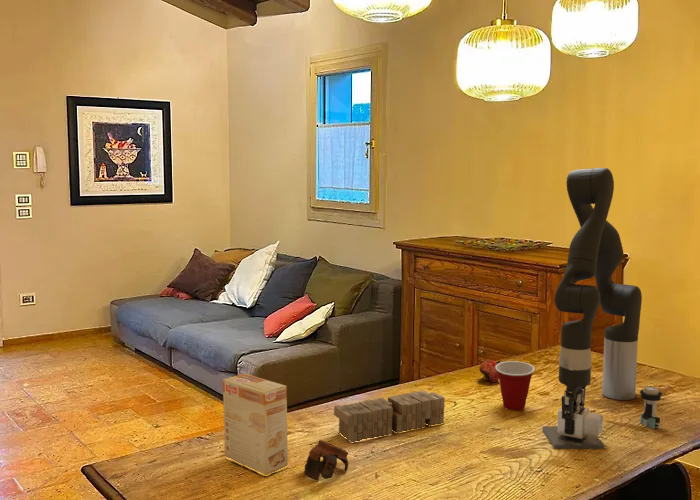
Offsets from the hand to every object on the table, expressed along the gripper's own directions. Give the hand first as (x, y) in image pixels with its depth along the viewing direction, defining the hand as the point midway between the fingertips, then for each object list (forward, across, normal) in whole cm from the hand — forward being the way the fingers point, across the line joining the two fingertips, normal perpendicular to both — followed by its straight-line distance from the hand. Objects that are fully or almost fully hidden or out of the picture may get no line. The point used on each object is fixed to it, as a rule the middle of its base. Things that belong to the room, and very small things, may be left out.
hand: (572, 429), depth 180 cm
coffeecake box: (+3, +52, -59) cm, 79 cm away
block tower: (+3, +18, -42) cm, 46 cm away
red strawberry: (+3, -34, -35) cm, 49 cm away
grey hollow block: (+1, 0, +2) cm, 2 cm away
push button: (+3, -19, +15) cm, 25 cm away
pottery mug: (+3, +49, -42) cm, 64 cm away
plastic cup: (+3, -15, -20) cm, 25 cm away
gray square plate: (+2, 0, 0) cm, 2 cm away
